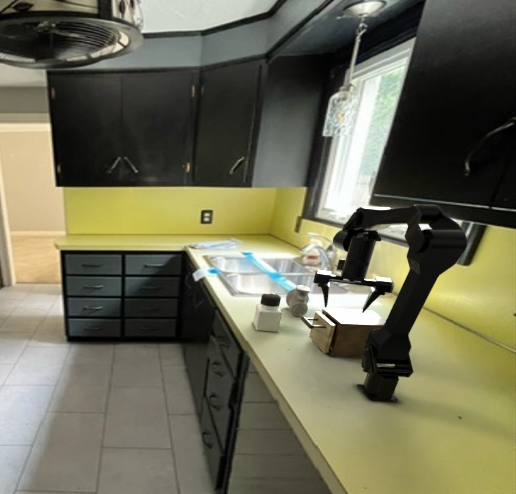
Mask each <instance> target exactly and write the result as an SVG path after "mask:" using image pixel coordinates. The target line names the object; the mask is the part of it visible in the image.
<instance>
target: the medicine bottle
mask: <svg viewBox="0 0 516 494" xmlns="http://www.w3.org/2000/svg"><path fill="white" fill-rule="evenodd" d="M281 300H282V298H281V295H279V294H277V293H274V292H266V293H262V295H261V298H260V302H259V303H260V304H256V306H255V312H254V317H253V325H254V328H255V331H263V332H275V333H278V332H279V329H280V325H281V318H282V315H283V312H282V311H281V309H280V304H281Z"/></svg>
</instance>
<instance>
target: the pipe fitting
mask: <svg viewBox="0 0 516 494" xmlns="http://www.w3.org/2000/svg"><path fill="white" fill-rule="evenodd" d="M310 292H311V288H310V287H308V286H307V285H301V284H299V285H296V286H295V288H294V289H291V290H289V292H287V293H286V295H285V303H286V305H287V307H289V311H290V313H291V315H293V316H294V317H298V318H299V317H300V318H301V317H303V316H306V314H307V313H308V310H309V307H308V303H309V301H310V298H309V294H310Z"/></svg>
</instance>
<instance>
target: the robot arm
mask: <svg viewBox="0 0 516 494" xmlns="http://www.w3.org/2000/svg"><path fill="white" fill-rule="evenodd" d="M402 225H407V228H406V231H405V234H404V239H405V241H406V243H407V246H408V250H407V253H406V260H407V263H408V267H409V270H408V272H407V275H406V277H405V279H404V281H403V283H402V286H401V288H400V289H399V291H398V294H397V296H396V298H395V300H394V303H393V304H392V307H391V309H390V311H389V313H388V315H387V318H386V322H385V324H384V326H383V327H382V328H381V329H372V330H371V331H370V332H369V335H368V338H367V339H366V341H365V342H364V343H366V344H365V346H364V347H363V351H362V358H361V365H360V366H361V368H362V372H363V373H366V376H365V378H364V382H363V384H361V383H360V384H359V383H357V384H356V387H357V388H358V389H359V391H360V392H362V393H363V395H364V396H365V397H366V398H367V399H368V400H370V401H378V402H394V403H397V402H399V399H398V398H397V397H396V395H394V393H395V391H396V388H397V386H398V384H399V381H400V378H411V376H412V375H413V374H414V368H413V364H412V363H413V362H412V360H411V355H410V352H411V350H412V342H411V339H410V333H411V331H412V329H413V328H414V325H415V323H416V321H417V319H418V317H419V315H420V313H421V312H422V309H423V307H424V306H425V304H426V301H428V298H429V296H430V294H431V292H432V290H433V288H434V286H435V284H436V282H437V281H438V279H439V277H440V276H441V275H442V274H443V273H445V272H446V271H448V270H449V269H451V268H453V267H454V266H455V265H456V264H457V263H458V261H459V260H460V258H461V257H462V256H463V254H464V253H465V251H466V250H467V247H468V245H469V240H468V237H467V235H466V234H465V232H464V230H463V228H462V227H461V225H460V224H459V223H458V222H456V221H455V220H454V219H453V218H451V217H450V216H448V215H447V214H445V213H444V210H443V209H442V207H441V206H440V205H437V204H429V203H427V204H426V203H425V204H423V203H422V204H420V203H418V204H417V203H416V204H413V205H408V206H400V207H392V208H391V207H385V206H381V207H380V206H359V207H357V208H356V209H355V211H354V212H353V213H352V214H351V216H350V217H349V219H348V220H347V221H346V223H344V225H343V226H342V229H340V230H339V231H338V232H336V233H335V235H334V236H333V238H332V245H333V246H334V248H336V249H338V250H341V251H344V252H347V253H346V256H345V259H341V258H340V259H338V261H337V265H336V269H335V271H336V272H340V275H336V274H332V271H330V270H329V271H328V270H322V269H318V270H316V271H315V273H314V277H313V280H312V283H313V284H317V287H318V288H321V292H322V295H323V303H324V308H327V306H328V303H329V295H330V294H329V293H330V283H340V284H346V285H353V286H362V287H370V290H369V293H368V295H367V297H366V299H365V302H364V304H363V307H362V308H361V310H362V313H364V312H365V311H366V310H368V308H370V306H372V304H373V303H374V302H375V301H376V300H377V299H379V297H380V296H386V294H392V293H393V291H394V287H395V283H394V281H393V279H392V278H391V277H381V276H376V277H375V279H367V278H366V277H367V274H368V270H369V267H370V263H371V261H372V258H373V255H374V250H375V246H376V243H377V242H382V237H381V235H380V234H379V232H378V231H382V230H386V229H388V228H389V227H390V226H402ZM420 225H428V227H429V228H425V229H424V228H423V229H422V227H421V226H420Z"/></svg>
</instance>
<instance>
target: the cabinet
mask: <svg viewBox="0 0 516 494" xmlns="http://www.w3.org/2000/svg"><path fill="white" fill-rule="evenodd" d="M321 313H322V314H323V315H324V314H325V313H326V314H327V315H328V316H329V317H331V318H332V319H333V320H334V321H335V322H336V323H338V324H339V328H338V331H337V334H336V338H335V341H334V345H333V348H332V351H331V349H330V348H329V350H328V355H330V356H331V357H336V358H353V359H355V358H356V359H362V351H363V347H364V346H365V344H366V343H364V342H365V341H366V339H367V338H368V335H369V332H370V331H371V330H372V329H381V328H382V327H383V326H384V324H385V322H386V320H387V318H384V317H383V316H381V315H380V314H378V313H377V312H375V311H374V310H369V309H367V310H366V311H365V312H364V313H362V309H350V308H348V309H347V308H327V307H326V308H325V307H324V308H322V310H321Z"/></svg>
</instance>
